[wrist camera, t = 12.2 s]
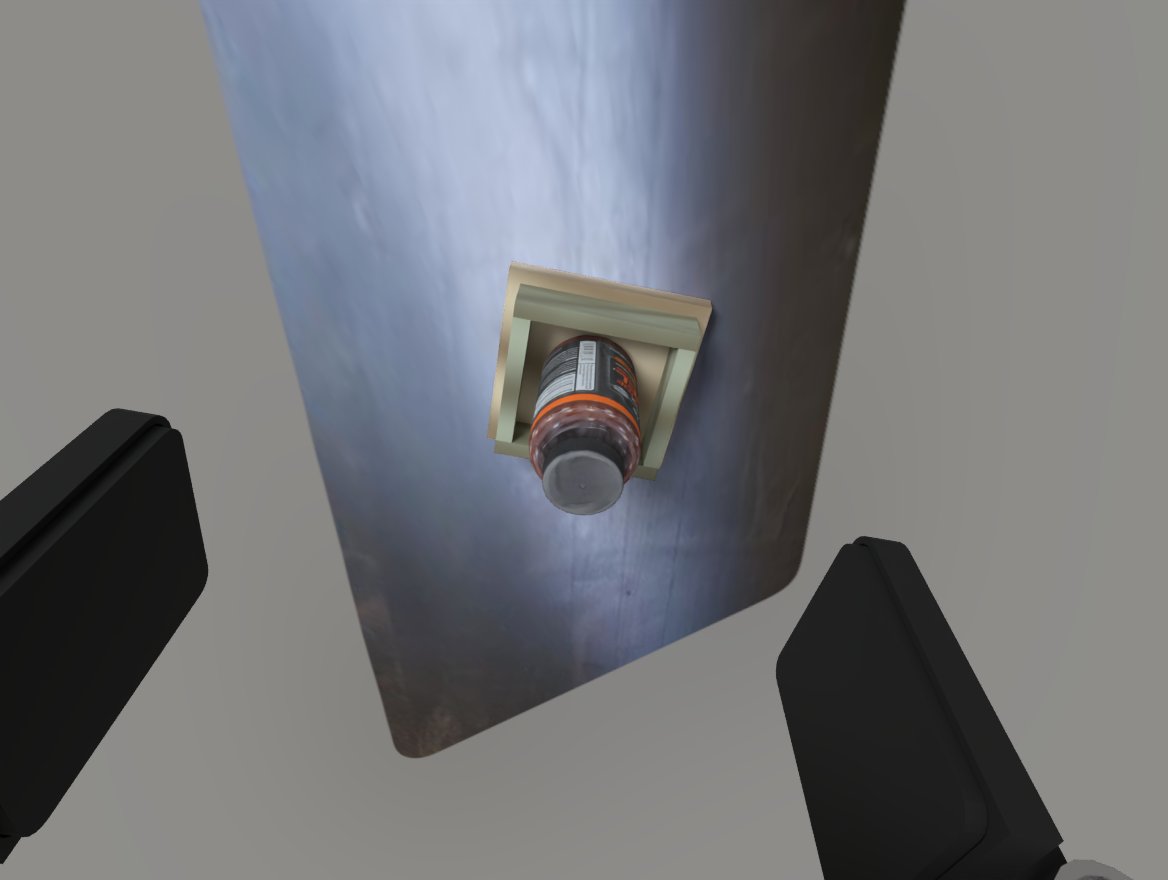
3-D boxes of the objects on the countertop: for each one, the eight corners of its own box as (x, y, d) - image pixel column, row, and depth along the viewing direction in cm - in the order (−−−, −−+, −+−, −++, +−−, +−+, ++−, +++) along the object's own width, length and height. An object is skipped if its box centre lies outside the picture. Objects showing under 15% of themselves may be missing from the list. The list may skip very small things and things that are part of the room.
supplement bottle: (651, 392, 41) (664, 509, 32) (569, 427, 43) (558, 547, 34) (610, 314, 38) (611, 418, 29) (524, 354, 40) (498, 464, 31)
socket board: (511, 261, 38) (503, 284, 35) (709, 300, 39) (718, 326, 36) (490, 428, 45) (481, 460, 42) (659, 458, 46) (662, 491, 43)
